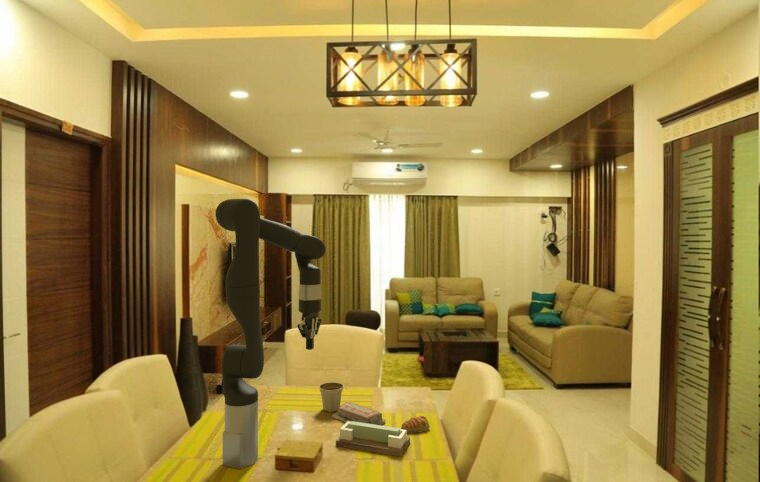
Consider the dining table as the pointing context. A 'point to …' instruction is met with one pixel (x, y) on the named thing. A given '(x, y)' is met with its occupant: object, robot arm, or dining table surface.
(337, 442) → the board
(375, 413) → the packaged product
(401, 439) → the cap near
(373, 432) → the slat
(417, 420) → the pastry
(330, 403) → the flower pot
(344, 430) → the cap far
